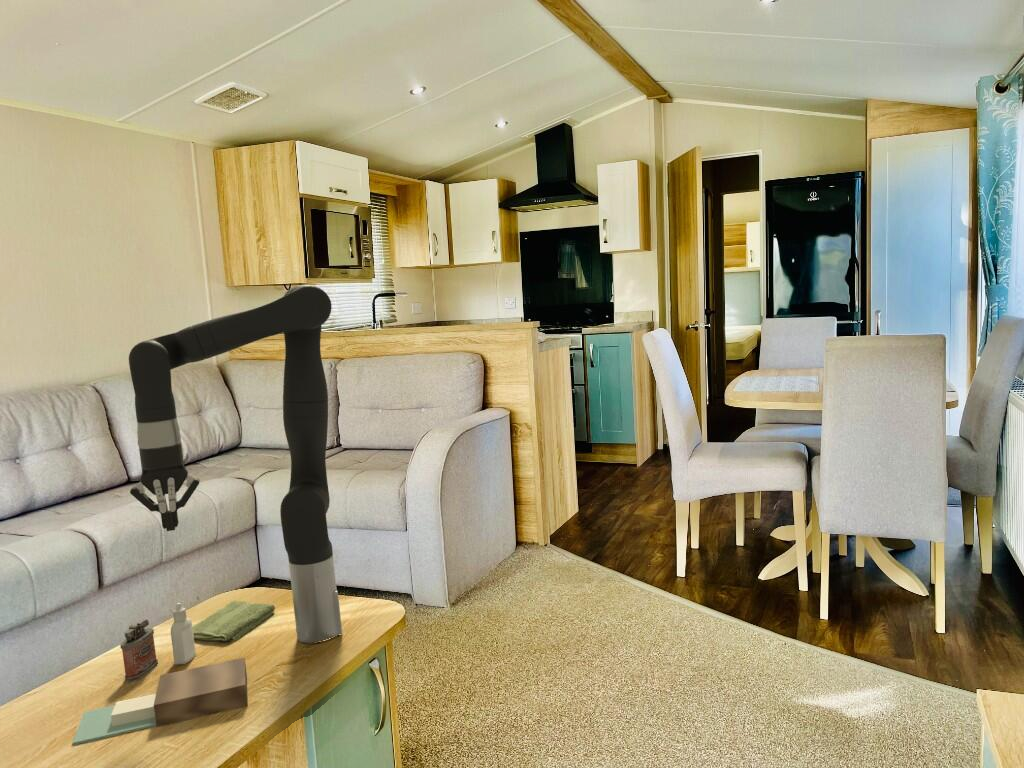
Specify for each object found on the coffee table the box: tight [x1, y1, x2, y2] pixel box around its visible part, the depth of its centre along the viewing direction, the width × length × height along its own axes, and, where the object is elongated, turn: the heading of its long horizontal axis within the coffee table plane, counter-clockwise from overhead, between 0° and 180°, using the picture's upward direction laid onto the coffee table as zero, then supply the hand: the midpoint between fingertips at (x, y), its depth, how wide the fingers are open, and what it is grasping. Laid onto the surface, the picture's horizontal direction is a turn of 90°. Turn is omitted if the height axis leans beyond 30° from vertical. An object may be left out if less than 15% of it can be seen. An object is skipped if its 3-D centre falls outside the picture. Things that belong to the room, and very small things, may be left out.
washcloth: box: [192, 600, 276, 643], centre depth 174 cm, size 13×18×3 cm
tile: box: [111, 693, 156, 726], centre depth 136 cm, size 7×5×2 cm
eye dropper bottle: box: [170, 602, 197, 666], centre depth 158 cm, size 4×6×12 cm
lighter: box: [119, 618, 159, 683], centre depth 154 cm, size 8×3×10 cm, turn 168°
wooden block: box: [154, 657, 249, 728], centre depth 140 cm, size 15×12×4 cm
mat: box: [71, 704, 156, 746], centre depth 136 cm, size 13×11×1 cm
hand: (171, 529), depth 150 cm, fingers closed
